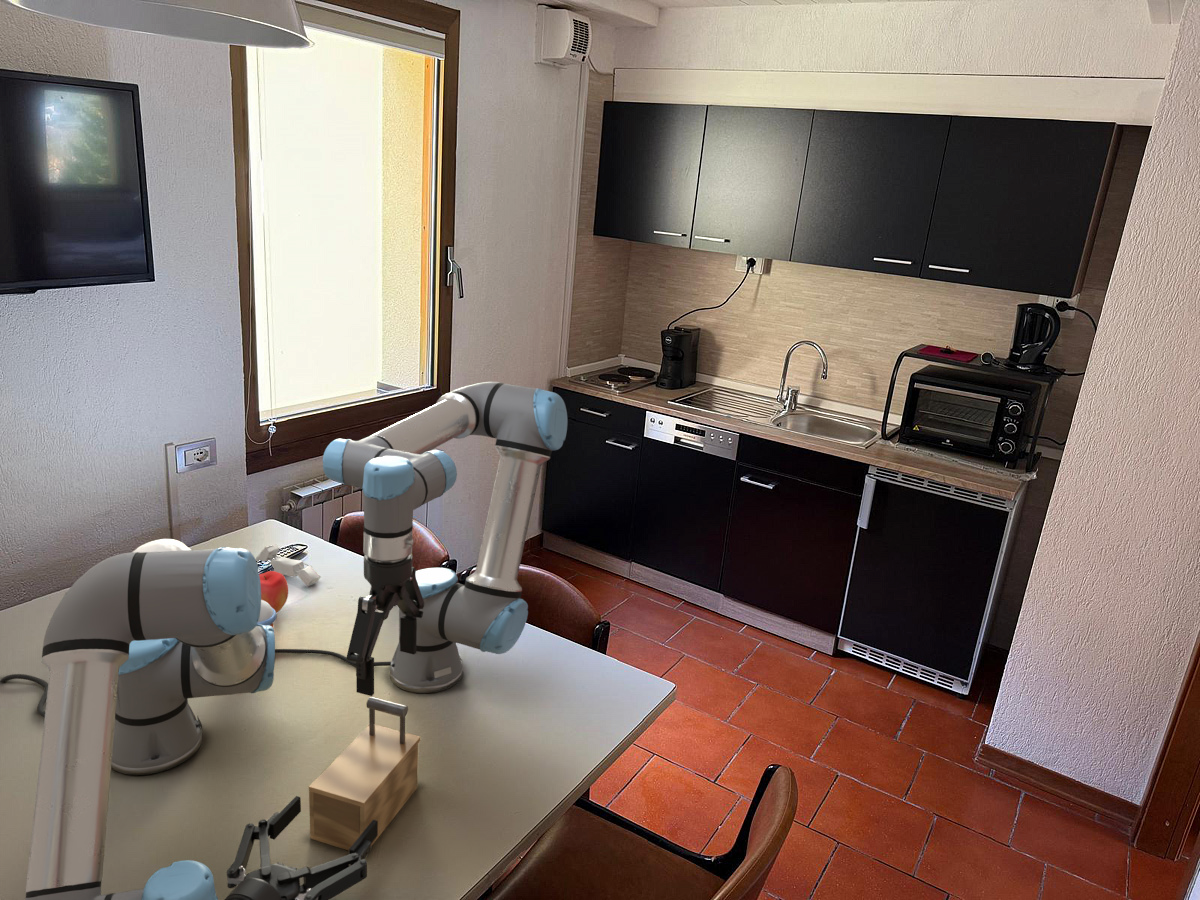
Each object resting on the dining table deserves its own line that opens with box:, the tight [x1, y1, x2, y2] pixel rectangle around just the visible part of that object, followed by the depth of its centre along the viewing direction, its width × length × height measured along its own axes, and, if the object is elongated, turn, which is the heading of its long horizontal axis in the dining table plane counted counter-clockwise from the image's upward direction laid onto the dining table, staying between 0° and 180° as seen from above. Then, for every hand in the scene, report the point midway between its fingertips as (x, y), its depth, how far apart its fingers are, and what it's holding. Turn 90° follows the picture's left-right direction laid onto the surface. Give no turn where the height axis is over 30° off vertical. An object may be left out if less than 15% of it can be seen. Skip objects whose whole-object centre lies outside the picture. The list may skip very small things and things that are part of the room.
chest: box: [308, 743, 419, 851], centre depth 141 cm, size 17×10×9 cm, turn 163°
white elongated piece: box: [255, 544, 322, 587], centre depth 219 cm, size 20×4×7 cm, turn 62°
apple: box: [258, 570, 289, 614], centre depth 199 cm, size 10×10×10 cm
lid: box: [308, 696, 422, 807], centre depth 139 cm, size 18×10×8 cm, turn 163°
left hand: (336, 815), depth 132 cm, fingers open, 13 cm apart
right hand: (387, 671), depth 141 cm, fingers open, 13 cm apart
